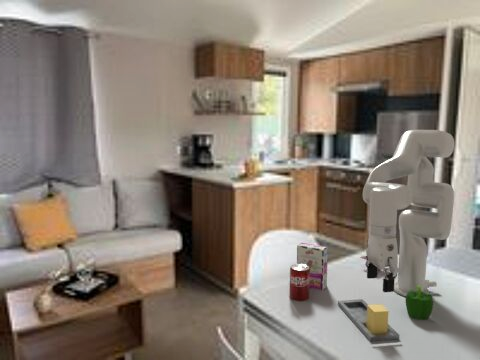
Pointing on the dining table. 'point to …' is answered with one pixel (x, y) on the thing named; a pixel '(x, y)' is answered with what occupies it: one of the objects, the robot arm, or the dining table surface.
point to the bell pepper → (419, 304)
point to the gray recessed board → (359, 317)
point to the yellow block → (377, 319)
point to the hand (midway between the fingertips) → (379, 284)
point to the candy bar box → (314, 263)
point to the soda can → (299, 282)
